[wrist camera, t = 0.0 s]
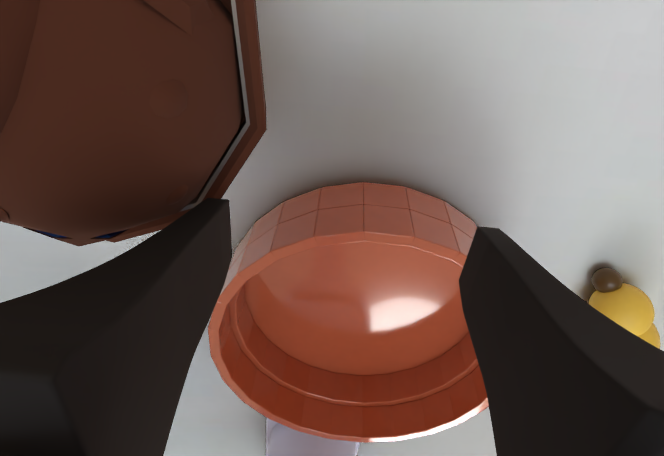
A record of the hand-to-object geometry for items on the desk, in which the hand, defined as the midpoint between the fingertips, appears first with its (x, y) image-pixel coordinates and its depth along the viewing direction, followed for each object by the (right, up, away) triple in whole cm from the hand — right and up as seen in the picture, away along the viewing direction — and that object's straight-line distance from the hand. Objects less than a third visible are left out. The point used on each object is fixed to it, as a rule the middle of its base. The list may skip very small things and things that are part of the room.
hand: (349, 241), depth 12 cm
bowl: (+1, -4, +15) cm, 15 cm away
